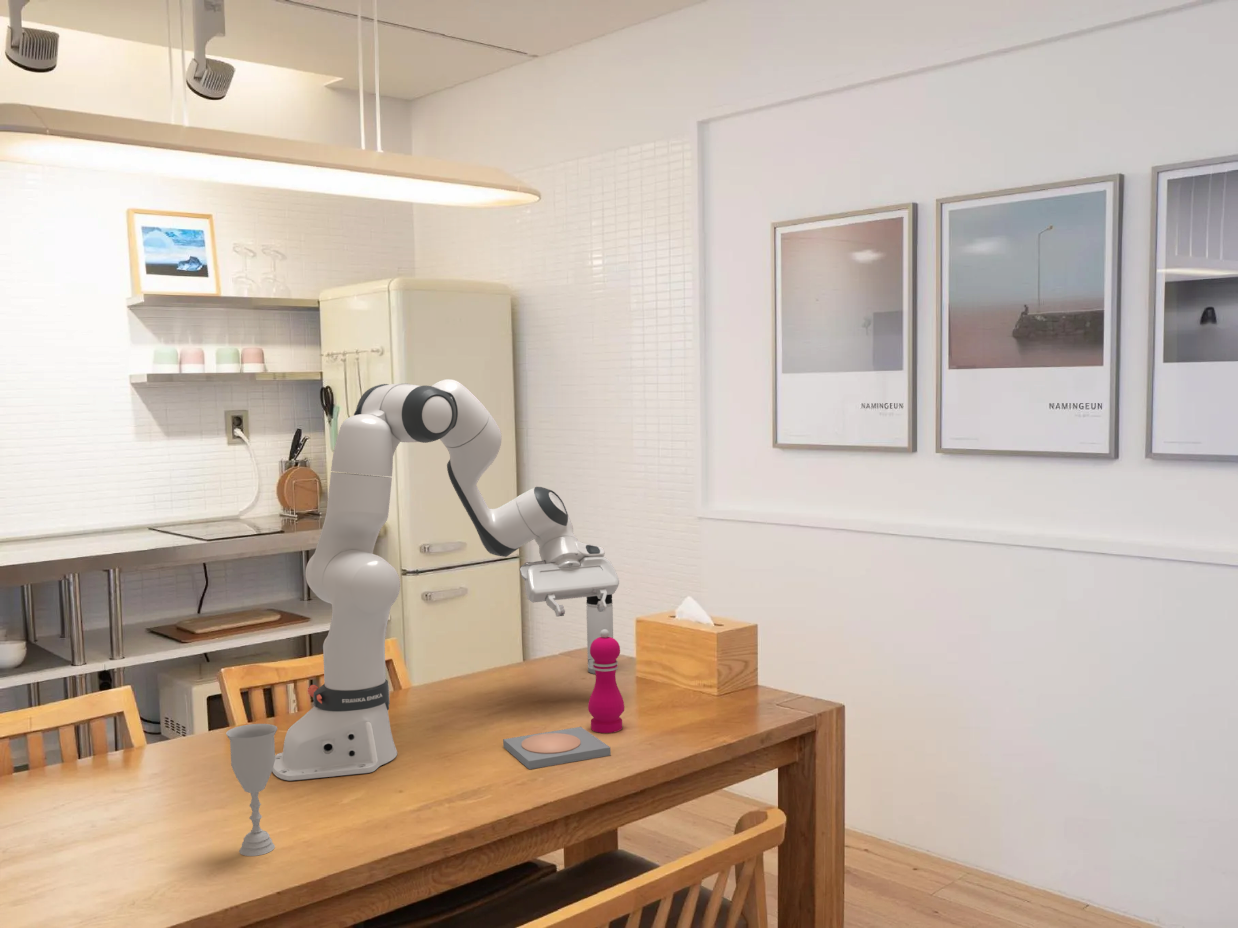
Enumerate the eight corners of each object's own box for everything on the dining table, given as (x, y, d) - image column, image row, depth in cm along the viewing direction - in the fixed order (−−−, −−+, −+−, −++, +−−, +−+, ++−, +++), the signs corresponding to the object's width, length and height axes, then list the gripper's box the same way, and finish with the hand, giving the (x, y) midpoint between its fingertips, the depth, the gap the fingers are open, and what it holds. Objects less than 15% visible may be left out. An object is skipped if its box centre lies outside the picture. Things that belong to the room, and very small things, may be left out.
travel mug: (583, 674, 261) (582, 590, 259) (592, 667, 267) (590, 585, 266) (609, 675, 259) (607, 591, 257) (617, 668, 265) (615, 586, 264)
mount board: (529, 769, 196) (528, 759, 196) (503, 746, 208) (503, 737, 208) (610, 755, 203) (610, 745, 202) (580, 734, 215) (580, 725, 215)
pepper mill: (624, 733, 215) (622, 633, 214) (587, 734, 215) (585, 633, 214) (625, 722, 222) (623, 625, 221) (589, 723, 222) (587, 625, 221)
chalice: (287, 838, 167) (283, 722, 166) (275, 857, 161) (270, 737, 159) (239, 840, 167) (234, 724, 166) (224, 859, 160) (219, 738, 159)
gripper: (520, 554, 229) (538, 608, 221) (609, 546, 238) (630, 598, 229) (514, 572, 233) (531, 626, 225) (601, 564, 242) (621, 615, 234)
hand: (582, 612), depth 227 cm, fingers open, 8 cm apart
